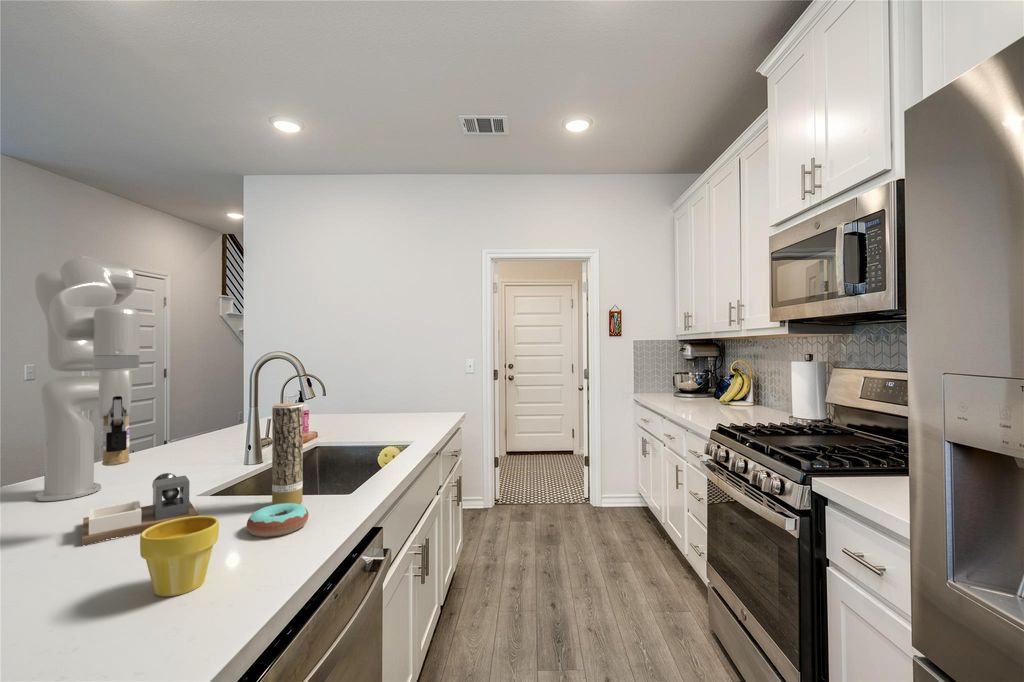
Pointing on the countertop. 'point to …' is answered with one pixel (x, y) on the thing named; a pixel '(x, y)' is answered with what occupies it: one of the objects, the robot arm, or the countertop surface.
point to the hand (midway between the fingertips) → (115, 448)
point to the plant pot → (179, 553)
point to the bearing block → (173, 507)
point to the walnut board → (146, 523)
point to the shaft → (169, 493)
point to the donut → (277, 520)
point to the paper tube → (287, 453)
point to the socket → (114, 517)
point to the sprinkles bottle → (115, 456)
